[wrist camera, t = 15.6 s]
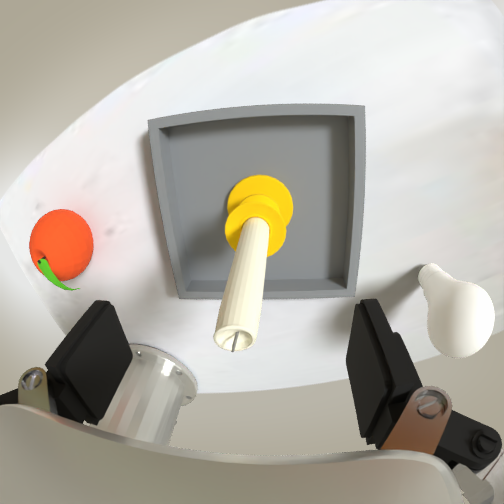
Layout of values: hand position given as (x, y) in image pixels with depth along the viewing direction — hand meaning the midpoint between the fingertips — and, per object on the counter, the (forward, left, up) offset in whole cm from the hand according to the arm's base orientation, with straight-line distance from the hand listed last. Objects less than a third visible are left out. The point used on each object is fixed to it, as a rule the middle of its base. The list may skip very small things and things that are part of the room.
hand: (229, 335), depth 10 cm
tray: (+1, 0, -15) cm, 15 cm away
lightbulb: (-6, -16, -15) cm, 23 cm away
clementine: (-2, +19, -15) cm, 24 cm away
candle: (0, 0, -15) cm, 15 cm away
